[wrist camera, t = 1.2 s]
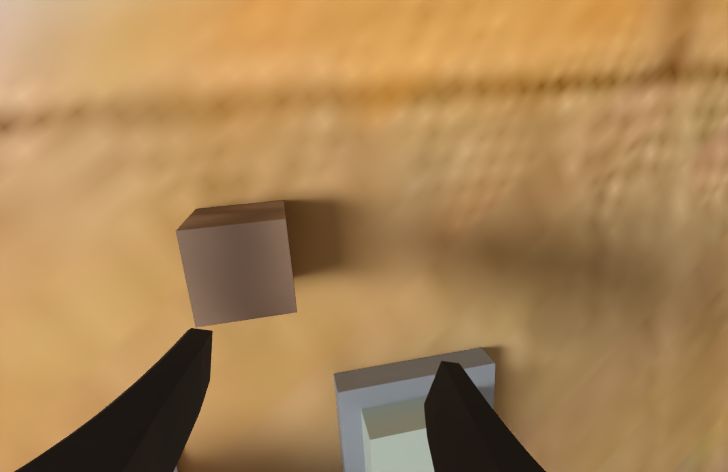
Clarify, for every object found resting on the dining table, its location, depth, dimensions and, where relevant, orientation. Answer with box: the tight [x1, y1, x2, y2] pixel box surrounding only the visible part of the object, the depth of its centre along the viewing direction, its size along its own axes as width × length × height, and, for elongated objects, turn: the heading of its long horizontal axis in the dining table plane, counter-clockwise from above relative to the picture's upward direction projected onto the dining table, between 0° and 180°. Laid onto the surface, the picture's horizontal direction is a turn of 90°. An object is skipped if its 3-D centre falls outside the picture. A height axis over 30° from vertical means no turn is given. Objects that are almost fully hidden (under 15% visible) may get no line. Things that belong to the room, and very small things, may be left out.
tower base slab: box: [334, 348, 495, 472], centre depth 27 cm, size 10×10×2 cm
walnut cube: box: [176, 200, 297, 327], centre depth 20 cm, size 4×4×4 cm
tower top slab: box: [361, 396, 434, 472], centre depth 24 cm, size 7×7×2 cm
